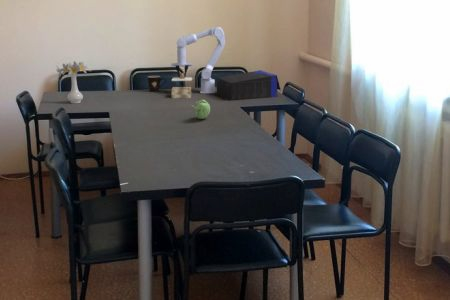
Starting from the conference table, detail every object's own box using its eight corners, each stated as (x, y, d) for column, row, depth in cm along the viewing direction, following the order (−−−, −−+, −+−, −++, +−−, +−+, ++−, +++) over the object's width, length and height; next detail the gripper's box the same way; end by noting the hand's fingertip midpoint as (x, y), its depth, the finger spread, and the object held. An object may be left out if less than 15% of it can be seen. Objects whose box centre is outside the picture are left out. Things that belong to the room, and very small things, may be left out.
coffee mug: (146, 92, 389) (145, 77, 387) (151, 89, 397) (150, 75, 395) (162, 92, 386) (161, 78, 383) (166, 90, 394) (166, 76, 391)
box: (191, 94, 380) (191, 87, 378) (190, 98, 368) (190, 90, 367) (172, 94, 379) (172, 87, 378) (171, 98, 368) (171, 90, 367)
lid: (192, 78, 390) (192, 72, 389) (191, 80, 377) (191, 74, 376) (173, 78, 390) (173, 72, 389) (171, 80, 377) (171, 74, 376)
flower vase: (58, 101, 358) (55, 61, 352) (88, 99, 364) (85, 60, 357) (59, 105, 347) (56, 64, 340) (90, 103, 352) (88, 62, 345)
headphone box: (280, 97, 372) (281, 74, 368) (230, 101, 359) (230, 78, 355) (264, 90, 394) (264, 69, 390) (216, 94, 381) (216, 72, 377)
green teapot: (187, 118, 313) (187, 98, 310) (206, 116, 317) (206, 96, 314) (195, 122, 302) (195, 102, 299) (215, 120, 307) (214, 100, 304)
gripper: (170, 57, 376) (170, 78, 379) (192, 57, 376) (193, 78, 380) (170, 56, 382) (171, 76, 386) (192, 56, 383) (193, 76, 386)
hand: (182, 77), depth 383 cm, fingers closed on lid, 3 cm apart
